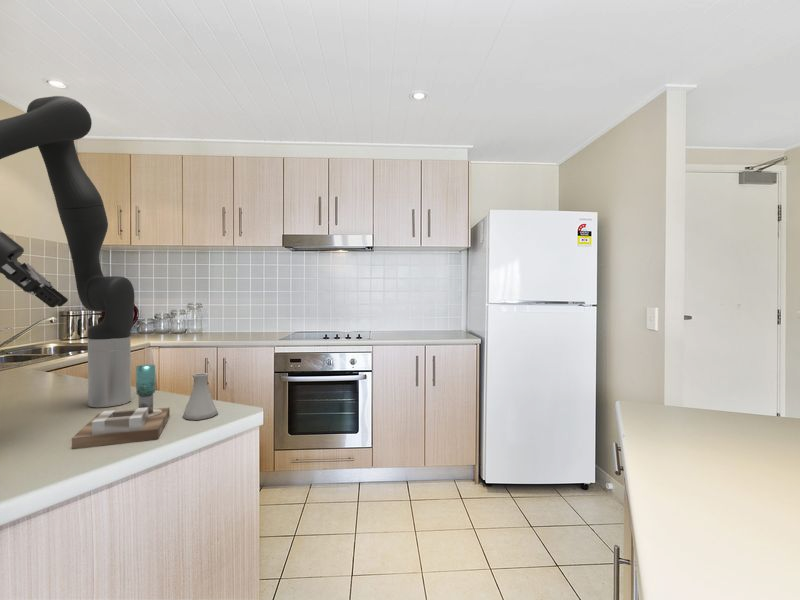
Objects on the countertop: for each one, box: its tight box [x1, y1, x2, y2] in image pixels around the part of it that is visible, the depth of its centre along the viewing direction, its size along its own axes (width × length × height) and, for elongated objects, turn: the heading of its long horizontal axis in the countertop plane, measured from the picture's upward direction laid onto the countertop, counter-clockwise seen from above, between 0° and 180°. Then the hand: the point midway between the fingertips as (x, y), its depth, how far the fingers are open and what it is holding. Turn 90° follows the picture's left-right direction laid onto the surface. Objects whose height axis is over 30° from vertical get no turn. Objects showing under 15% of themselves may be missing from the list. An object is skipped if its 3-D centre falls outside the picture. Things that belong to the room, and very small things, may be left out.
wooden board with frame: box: [71, 406, 171, 450], centre depth 88 cm, size 17×14×4 cm
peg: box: [135, 364, 156, 414], centre depth 93 cm, size 4×4×10 cm
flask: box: [182, 372, 219, 421], centre depth 99 cm, size 7×7×10 cm
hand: (61, 304), depth 85 cm, fingers open, 8 cm apart
